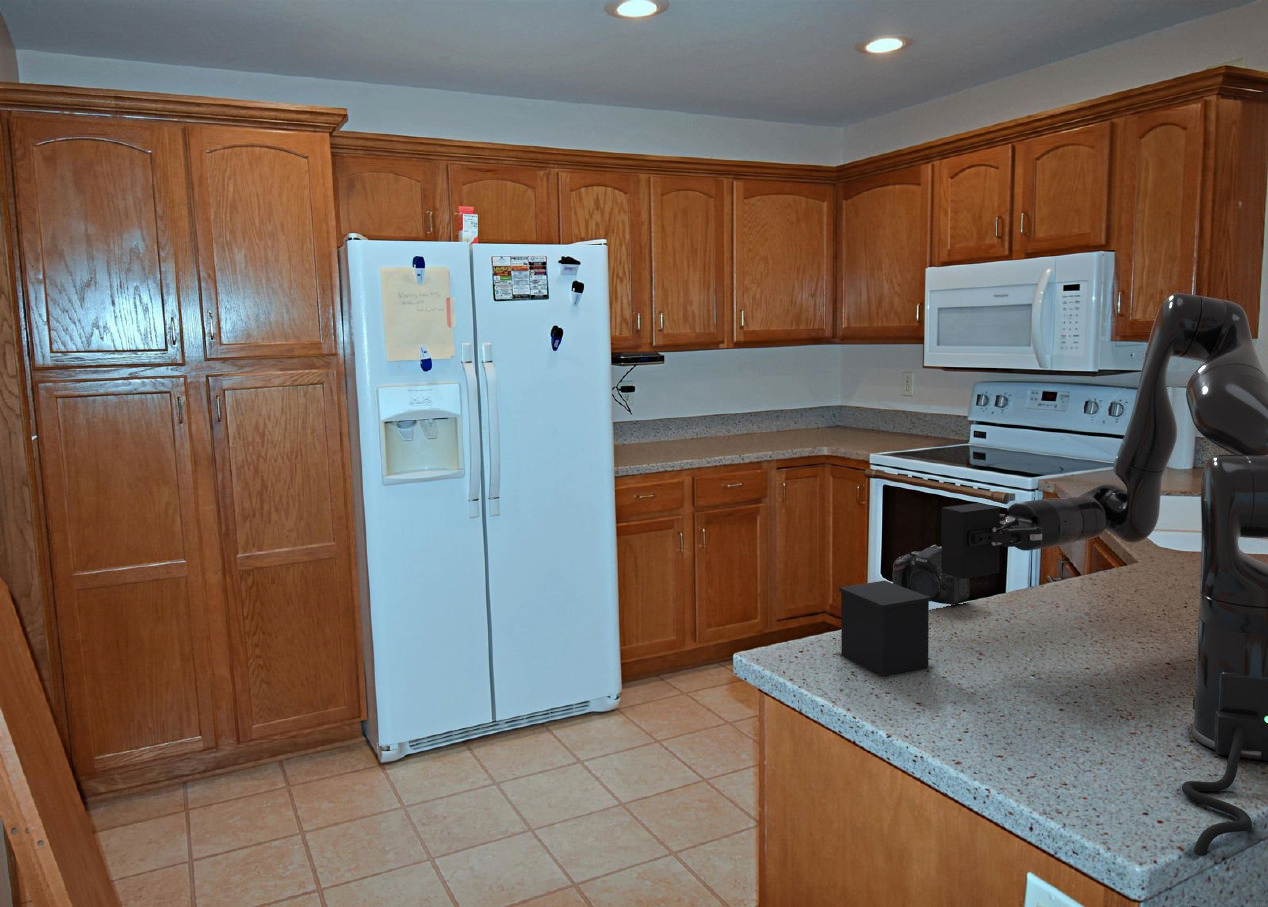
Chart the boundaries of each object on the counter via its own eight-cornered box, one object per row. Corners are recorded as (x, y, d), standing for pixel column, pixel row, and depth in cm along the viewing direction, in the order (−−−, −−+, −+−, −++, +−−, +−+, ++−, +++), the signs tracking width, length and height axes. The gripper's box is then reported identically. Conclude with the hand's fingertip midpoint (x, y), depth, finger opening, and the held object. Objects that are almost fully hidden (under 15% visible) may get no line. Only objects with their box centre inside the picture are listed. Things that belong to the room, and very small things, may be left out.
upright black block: (999, 573, 133) (1000, 507, 131) (962, 579, 130) (962, 512, 129) (977, 566, 137) (978, 502, 136) (941, 572, 134) (941, 507, 133)
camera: (886, 603, 159) (886, 549, 158) (897, 589, 168) (898, 537, 166) (965, 611, 153) (965, 555, 152) (972, 596, 161) (973, 542, 160)
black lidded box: (930, 667, 128) (931, 597, 126) (882, 677, 125) (882, 605, 123) (884, 645, 137) (885, 580, 136) (839, 654, 134) (839, 587, 133)
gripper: (1008, 493, 144) (923, 503, 138) (1082, 507, 131) (991, 519, 125) (1008, 538, 145) (923, 550, 139) (1081, 556, 132) (991, 571, 126)
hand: (956, 535), depth 132 cm, fingers closed on upright black block, 4 cm apart
